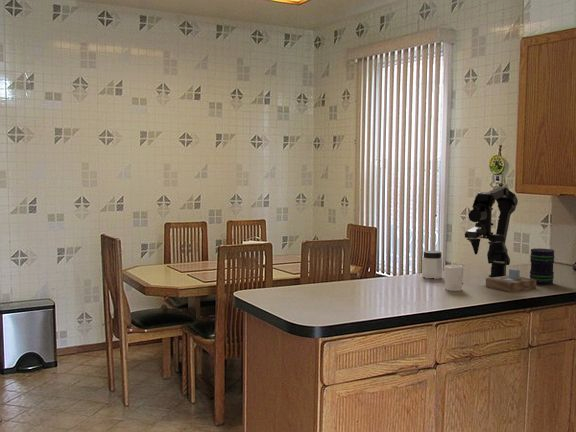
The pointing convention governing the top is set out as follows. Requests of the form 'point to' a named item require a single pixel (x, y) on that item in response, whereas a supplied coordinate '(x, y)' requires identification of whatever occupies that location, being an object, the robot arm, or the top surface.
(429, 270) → the jar
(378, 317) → the top surface
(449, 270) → the white cup
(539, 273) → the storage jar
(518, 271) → the grey stepped block
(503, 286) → the well block
